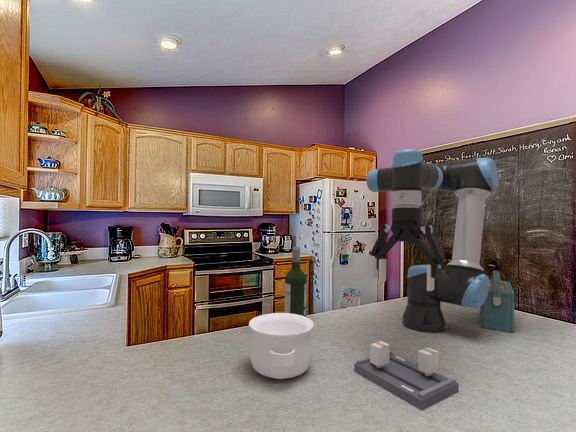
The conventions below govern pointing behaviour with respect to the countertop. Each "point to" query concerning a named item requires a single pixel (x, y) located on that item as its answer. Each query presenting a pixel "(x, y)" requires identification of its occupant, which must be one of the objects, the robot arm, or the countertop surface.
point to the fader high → (428, 361)
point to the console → (408, 381)
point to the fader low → (379, 353)
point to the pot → (281, 344)
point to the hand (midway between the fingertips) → (404, 286)
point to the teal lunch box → (498, 306)
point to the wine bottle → (295, 287)
